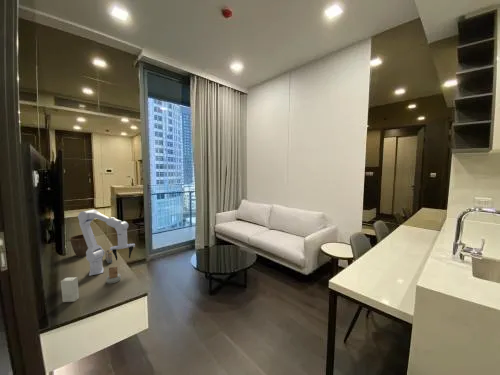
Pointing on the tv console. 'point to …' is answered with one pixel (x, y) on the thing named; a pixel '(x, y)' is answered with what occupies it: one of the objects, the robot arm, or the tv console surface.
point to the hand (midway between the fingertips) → (123, 258)
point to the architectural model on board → (108, 256)
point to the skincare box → (70, 289)
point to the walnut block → (113, 272)
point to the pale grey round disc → (113, 279)
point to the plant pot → (79, 245)
